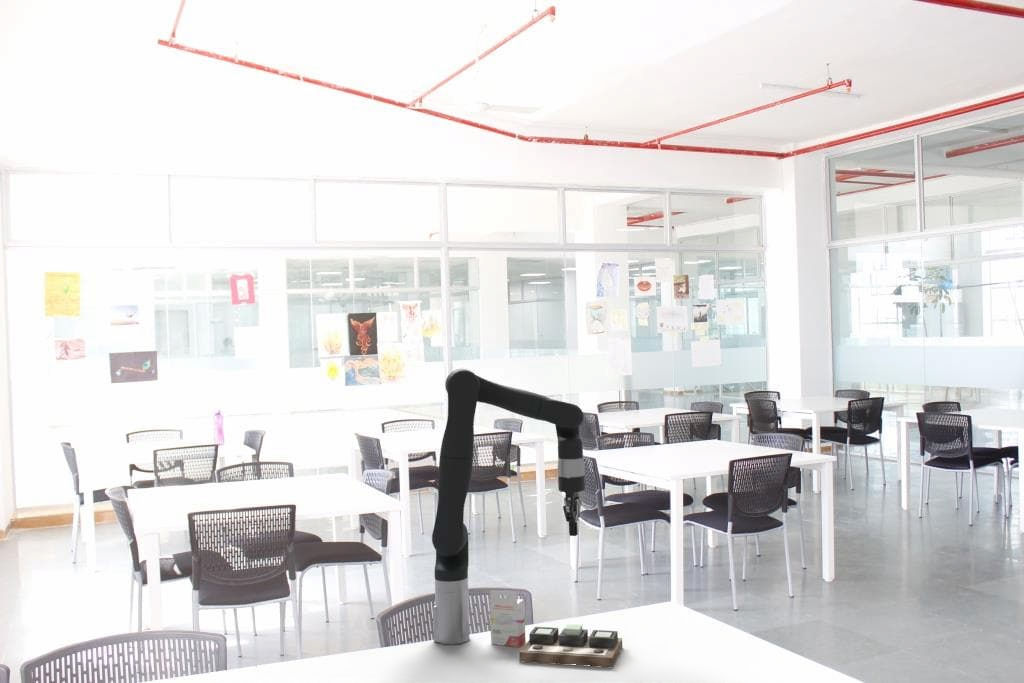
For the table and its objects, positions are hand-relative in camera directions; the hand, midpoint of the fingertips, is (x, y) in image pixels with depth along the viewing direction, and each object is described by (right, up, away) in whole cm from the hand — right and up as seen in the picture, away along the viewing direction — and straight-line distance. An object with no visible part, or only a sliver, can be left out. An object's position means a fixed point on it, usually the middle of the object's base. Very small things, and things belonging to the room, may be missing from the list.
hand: (573, 535), depth 263 cm
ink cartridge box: (-18, -28, -9) cm, 34 cm away
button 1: (-9, -24, -15) cm, 30 cm away
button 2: (+7, -24, -19) cm, 31 cm away
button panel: (-2, -27, -19) cm, 33 cm away
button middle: (-1, -23, -17) cm, 28 cm away
